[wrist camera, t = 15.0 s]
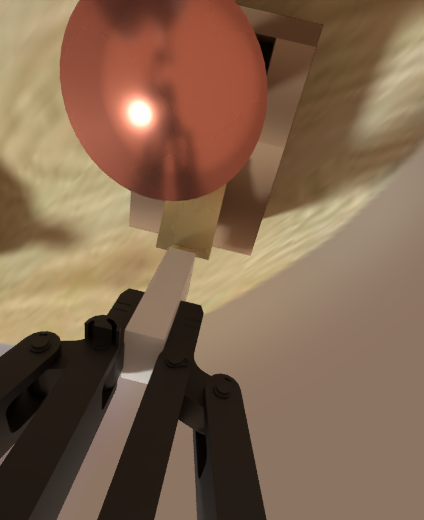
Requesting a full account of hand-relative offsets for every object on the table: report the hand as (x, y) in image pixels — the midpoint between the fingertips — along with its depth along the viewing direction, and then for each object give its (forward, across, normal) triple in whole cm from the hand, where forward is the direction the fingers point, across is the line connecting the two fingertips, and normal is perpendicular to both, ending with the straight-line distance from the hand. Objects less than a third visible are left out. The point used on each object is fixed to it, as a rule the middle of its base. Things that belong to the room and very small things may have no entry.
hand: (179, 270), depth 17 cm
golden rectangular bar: (+2, 0, +3) cm, 4 cm away
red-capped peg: (+8, 0, +10) cm, 12 cm away
